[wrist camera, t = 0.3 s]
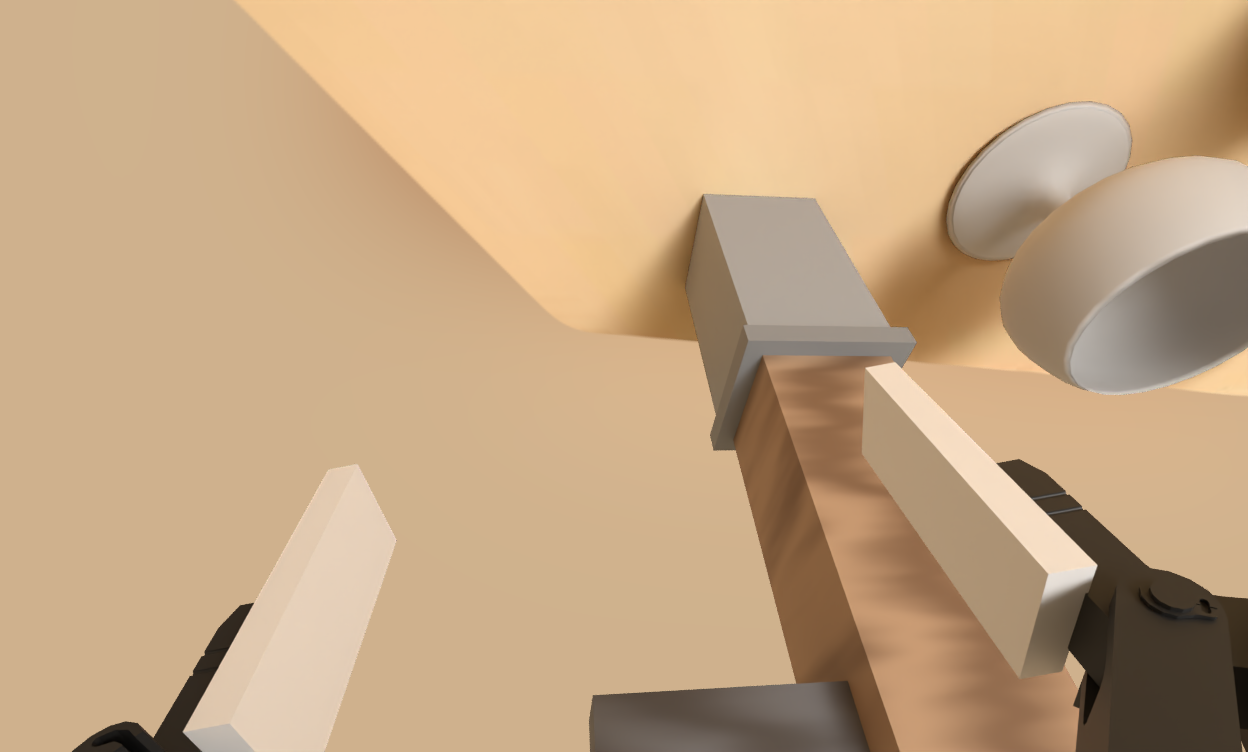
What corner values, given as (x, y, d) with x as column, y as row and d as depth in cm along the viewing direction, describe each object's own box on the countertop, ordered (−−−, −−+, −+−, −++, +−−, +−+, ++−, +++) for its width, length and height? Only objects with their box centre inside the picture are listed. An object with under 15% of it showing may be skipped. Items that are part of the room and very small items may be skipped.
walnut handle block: (578, 441, 34) (589, 826, 22) (582, 353, 30) (600, 787, 17) (844, 439, 36) (995, 793, 24) (891, 356, 31) (1111, 748, 19)
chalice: (1070, 39, 36) (1282, 154, 25) (1182, 147, 41) (1393, 277, 31) (890, 223, 44) (994, 366, 33) (1004, 291, 50) (1123, 432, 39)
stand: (677, 292, 47) (713, 450, 36) (697, 187, 41) (748, 340, 30) (787, 294, 48) (854, 448, 37) (823, 192, 42) (916, 342, 31)
